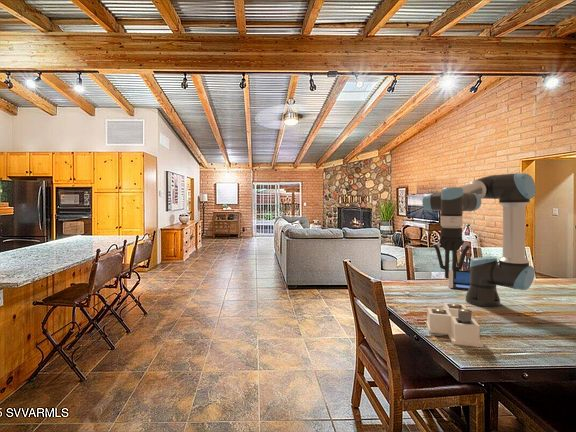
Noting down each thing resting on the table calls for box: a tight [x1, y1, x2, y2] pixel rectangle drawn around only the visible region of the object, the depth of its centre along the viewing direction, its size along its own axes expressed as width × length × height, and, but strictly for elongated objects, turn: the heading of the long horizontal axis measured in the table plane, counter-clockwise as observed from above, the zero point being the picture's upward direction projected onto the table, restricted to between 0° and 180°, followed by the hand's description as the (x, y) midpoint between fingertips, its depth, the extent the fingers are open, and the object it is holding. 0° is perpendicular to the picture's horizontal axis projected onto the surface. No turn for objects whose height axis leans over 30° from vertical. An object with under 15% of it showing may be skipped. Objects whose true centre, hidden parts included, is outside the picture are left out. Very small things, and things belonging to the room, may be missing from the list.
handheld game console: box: [450, 269, 470, 291], centre depth 189 cm, size 16×13×9 cm
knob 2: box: [458, 308, 473, 324], centre depth 119 cm, size 4×4×6 cm
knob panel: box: [425, 302, 484, 348], centre depth 128 cm, size 17×27×7 cm, turn 163°
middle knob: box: [433, 307, 445, 314], centre depth 129 cm, size 4×4×6 cm
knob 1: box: [450, 303, 461, 309], centre depth 135 cm, size 4×4×6 cm
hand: (450, 286), depth 124 cm, fingers closed
